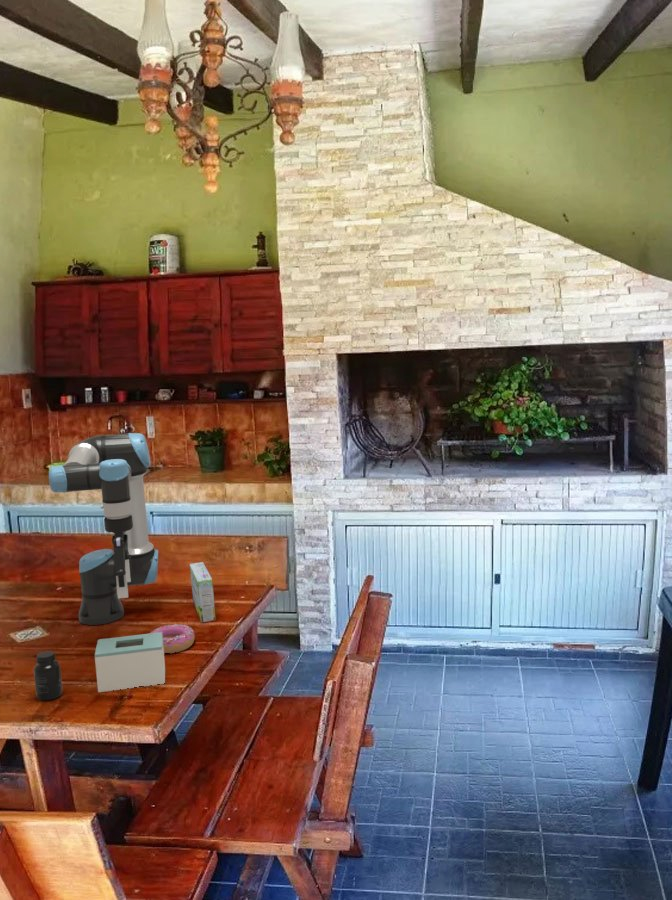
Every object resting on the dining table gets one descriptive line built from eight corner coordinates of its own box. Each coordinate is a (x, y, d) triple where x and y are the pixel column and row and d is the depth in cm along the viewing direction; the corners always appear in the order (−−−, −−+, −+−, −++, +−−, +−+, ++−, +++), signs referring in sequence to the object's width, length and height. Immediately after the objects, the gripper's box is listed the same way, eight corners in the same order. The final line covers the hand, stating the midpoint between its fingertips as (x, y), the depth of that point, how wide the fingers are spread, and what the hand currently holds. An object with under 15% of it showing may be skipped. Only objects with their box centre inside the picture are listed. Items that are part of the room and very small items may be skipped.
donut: (204, 642, 247) (203, 627, 246) (172, 659, 235) (171, 643, 234) (171, 634, 255) (170, 619, 254) (138, 650, 243) (137, 635, 242)
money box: (101, 675, 226) (98, 639, 224) (165, 667, 229) (162, 631, 227) (98, 692, 215) (94, 654, 213) (164, 683, 218) (161, 646, 217)
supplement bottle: (67, 694, 215) (63, 653, 213) (44, 704, 210) (39, 661, 208) (55, 687, 219) (50, 647, 217) (31, 696, 214) (27, 655, 212)
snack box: (191, 603, 282) (188, 563, 280) (207, 601, 284) (204, 561, 282) (200, 623, 262) (197, 580, 260) (216, 621, 264) (213, 578, 262)
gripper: (107, 507, 226) (113, 577, 229) (99, 528, 202) (107, 606, 205) (133, 504, 227) (139, 574, 231) (129, 525, 203) (136, 603, 207)
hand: (124, 589), depth 218 cm, fingers open, 13 cm apart
